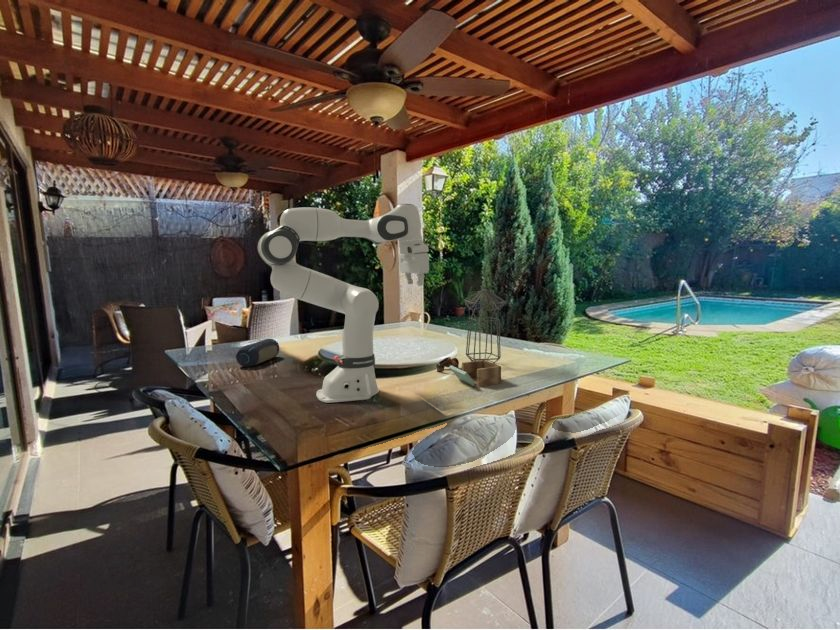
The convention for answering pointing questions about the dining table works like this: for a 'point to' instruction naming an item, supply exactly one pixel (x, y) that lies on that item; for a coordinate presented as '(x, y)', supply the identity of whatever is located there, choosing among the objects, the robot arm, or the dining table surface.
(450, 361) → the dark brown arch
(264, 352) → the portable speaker
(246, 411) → the dining table surface
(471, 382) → the panel
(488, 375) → the crate
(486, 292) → the geometric lantern
